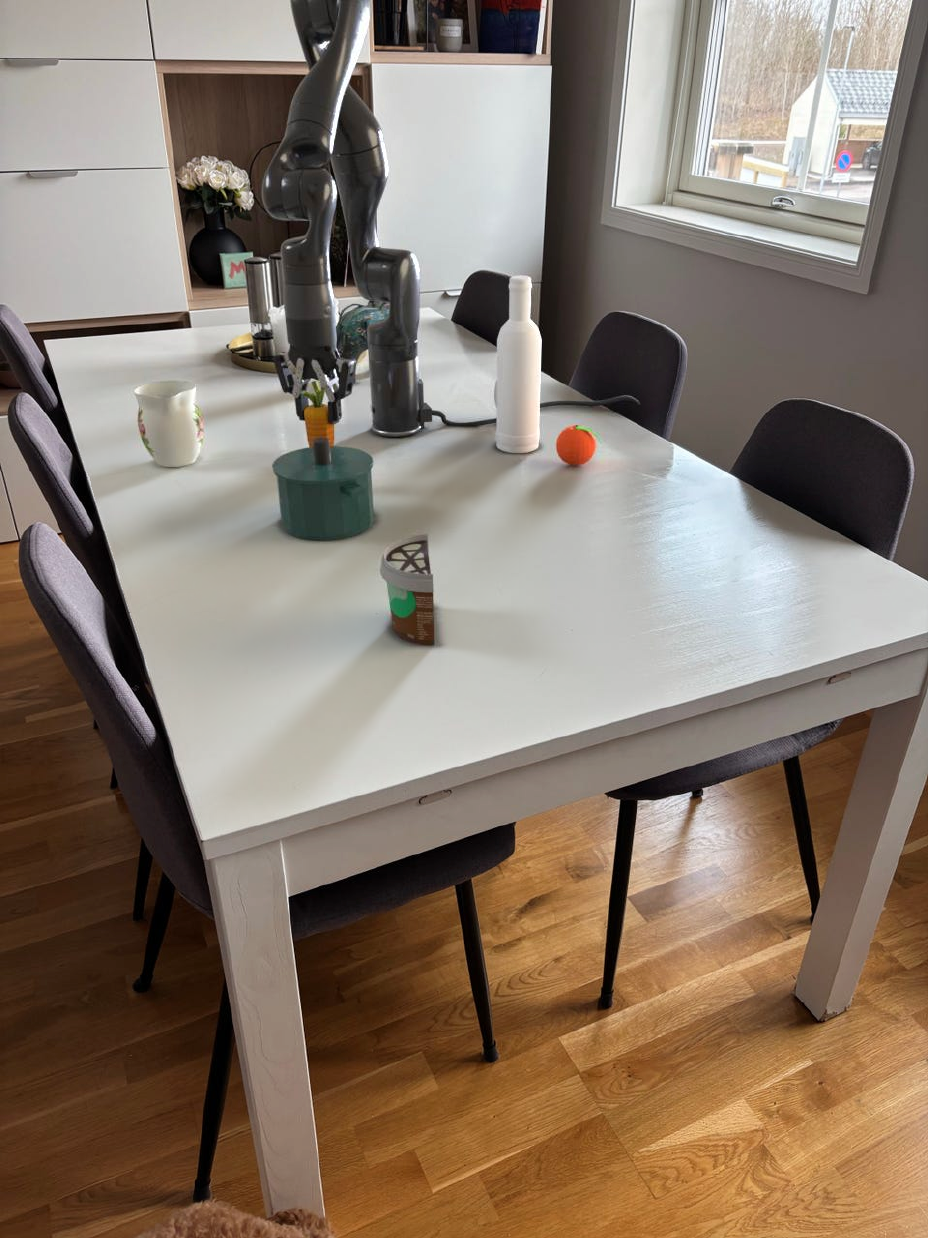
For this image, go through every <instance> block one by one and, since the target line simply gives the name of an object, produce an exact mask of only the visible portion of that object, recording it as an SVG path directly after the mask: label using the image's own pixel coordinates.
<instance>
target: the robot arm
mask: <svg viewBox="0 0 928 1238" xmlns="http://www.w3.org/2000/svg"><path fill="white" fill-rule="evenodd" d="M289 2H290V9H291V15H292V20H293V23H294V27H295V30H296V33H297V37H298V40H299V44H300V46H301V51H302V54H303V57H304V59H305V63H306V66H307V69H308V72H307V74H306V75H305V76H304V78H303V79H302V80H301V82H300V83H299V85H298V87H297V88H296V90H295V92H294V94H293V97H292V99H291V103H290V106H289V111H288V117H287V122H286V126H285V127H286V129H285V132H284V137H283V139H282V140H281V142H280V144H279V146H278V148H277V150H276V152H275V153H274V155H273V157H272V159H271V160H270V163H269V165H268V167H267V169H266V170H265V173H264V175H263V180H262V184H261V199H262V203H263V206H264V209H265V211H266V212H267V213H268V214H269V215H270V216H271V218H273V219H276V220H279V221H304V222H306V221H307V222H308V221H309V226H308V230H307V232H306V234H305V235H300V236H296V237H292V238H288V239H286V240H284V241H283V242H282V243H281V247H280V259H281V267H282V268H281V269H282V279H283V281H282V282H283V309H284V319H285V327H286V328H285V329H286V338H287V343H288V345H289V348H288V351H281V352H279V353H277V354H275V355H273V356H272V361H273V365H274V367H275V371H276V374H277V378H278V381H279V383H280V386H281V390H282V391H283V393H285V394H287V393H289V394H290V395H292V396H293V399H294V405H295V414H296V416H297V417H298V420H299V421H302V422H305V417H304V409H305V408H306V407H307V406H310V403H309V402H310V401H309V398H308V397H307V396H304V395H302V392H303V391H306V392H308V387H309V383H310V381H311V380H314V381H317V382H319V386H320V388H321V387H322V388H323V389H324V390H325V392H324V393H325V395H326V397H327V405H328V414H329V423H330V424H334V425H336V424H339V422H340V420H342V417H343V411H342V400H343V399H345V398H347V397H349V396H351V395H352V393H353V387H354V384H353V381H354V375H355V376H356V372H355V368H356V369H357V364H356V360H355V359H350V360H347V359H345V358H342V357H340V355H339V353H338V351H337V348H336V343H337V333H336V325H337V321H336V320H337V319H336V308H335V296H334V290H333V286H332V281H331V279H332V277H331V276H332V275H331V264H330V245H331V235H332V228H333V222H334V217H335V213H336V208H337V201H338V194H339V199H340V203H341V207H342V212H343V217H344V222H345V227H346V234H347V240H348V248H349V256H350V263H351V269H352V275H353V280H354V283H355V287H356V289H357V291H358V293H359V295H360V296H361V297H362V298H363V299H365V300H367V301H369V300H370V301H376V302H385V303H390V306H389V315H388V317H387V318H385V319H382V320H379V321H376V322H373V323H371V324H370V325H369V326H368V329H367V336H368V350H367V351H368V353H367V354H368V369H369V384H370V402H371V403H370V405H369V406H370V412H371V416H372V417H371V418H372V420H371V422H372V424H371V426H372V427H371V428H372V429H371V430H372V432H373V433H374V434H375V435H378V436H380V437H381V436H382V437H388V438H402V437H408V436H413V435H415V434H418V433H419V432H420V431H421V430H424V429H425V423H431V422H433V416H436V417H439V418H440V420H441V422H442V423H443V424H444V425H446V426H448V427H464V428H465V427H466V428H469V427H470V428H473V427H481V426H487V425H493V424H497V417H495V418H488V419H481V420H475V421H468V422H467V421H466V422H457V421H451V420H449V419H447V417H446V414H445V413H444V412H442V411H439V410H433V408H432V407H431V406H430V405H429V404H428V403H427V402H425V395H424V393H425V392H424V381H423V380H422V379H421V378H420V377H419V376H420V375H419V372H420V371H419V349H418V332H419V331H418V330H419V325H420V315H421V304H420V303H421V302H420V301H421V269H420V264H419V261H418V259H417V256H416V255H415V254H414V253H413V252H412V251H410V250H409V249H400V248H391V247H390V248H389V247H381V245H380V243H379V239H378V233H377V226H376V218H377V217H376V216H377V212H378V208H379V205H380V202H381V200H382V198H383V194H384V192H385V188H386V186H387V181H388V177H389V170H390V168H389V161H388V155H387V149H386V145H385V139H384V134H383V130H382V128H381V125H380V123H379V121H378V119H377V118H376V116H375V115H374V113H373V112H372V110H371V109H370V108H369V107H368V105H367V104H366V103H365V102H364V101H363V99H362V98H361V97H360V95H359V94H358V93H357V92H356V91H355V89H353V87H352V86H351V84H350V80H351V78H352V75H353V73H354V71H355V67H356V65H357V62H358V59H359V56H360V53H361V51H362V48H363V45H364V42H365V39H366V36H367V33H368V29H369V25H370V20H371V10H372V9H371V8H372V7H371V0H289ZM329 161H330V162H331V167H332V171H333V175H334V177H333V176H332V174H331V172H329V170H327V169H326V168H324V167H322V166H324V165H326V164H327V163H328V162H329ZM334 178H335V179H334ZM292 365H293V367H294V368H295V373H294V371H293V369H292ZM337 365H338V366H339V372H341V375H340V381H339V384H338V377H337V375H336V371H335V367H336V366H337ZM624 401H628V402H630V403H633V404H634V405H636V406H640V405H641V402H640V401H639V400H638V399H637V398H635V397H633V396H631V395H619V396H614V397H612V398H608V399H603V400H569V399H568V400H567V399H566V400H564V399H563V400H552V401H545V402H540V409H542V408H548V407H556V406H558V407H559V406H577V407H578V406H579V407H601V406H606V405H611V404H614V403H618V402H624Z"/></svg>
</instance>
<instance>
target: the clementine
mask: <svg viewBox="0 0 928 1238" xmlns="http://www.w3.org/2000/svg"><path fill="white" fill-rule="evenodd" d="M595 436H596V438H597V439H598V442H599V443H600V444H602V442H601V439H600V437H599V435H598V434H597V433H596V432H595V431H594V430H593V429H591V428H589V427H587V426H583V425H580V424H579V425H578V424H574V425H569V426H568V427H565V428H564V429H563V430H562V431H560V433H559V434H558V437H557V438H556V443H555V448H556V454H557V456H558V457H559V459H560V460H561V461H562V462H563V463H565V464H567V465H570V466H575V467H577V466H582V465H584V464H586V463H588V462H589V461H590V460H591V459H592V458H593V456H594V454H595V452H596V447H597V444H596V443H597V442H596V438H595Z"/></svg>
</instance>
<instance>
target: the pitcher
mask: <svg viewBox="0 0 928 1238" xmlns="http://www.w3.org/2000/svg"><path fill="white" fill-rule="evenodd" d="M196 389H197V387H196V384H195V383H193V382H189V381H186V380H160V381H154V382H150V383H149V382H148V383H145V384H142V385H140V386H138V387H136V388H135V389H134V390H133V393H134V396H135V398H136V401H137V404H138V410H137V427H138V432H139V435H140V438H141V440H142V443H143V445H144V447H145V449H146V451H147V452H148V454H149V456H150V457H151V458H152V459H153V460H154V461H155V462H156V463H157V464H158V465H159V466H160V467H164V468H181V467H184V466H189V465H191V464H193V463H194V462H195V461H196V460H197V458H198V456H199V455H200V452H201V450H202V446H203V441H204V422H203V421H204V420H203V415H202V411H201V410H200V407H199V405H198V403H197V401H196Z"/></svg>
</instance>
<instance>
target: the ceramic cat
mask: <svg viewBox="0 0 928 1238" xmlns="http://www.w3.org/2000/svg"><path fill="white" fill-rule="evenodd" d="M355 306H356V307H355ZM389 306H390V303H385V302H376V301H370V300H368V302H367V304H366V305H364V304H359V303H351V304H349V305H347V306H345V307H344V308H343V309H342V310H341V311H340V314H339V316H338V321H337V322H336V333H337V343H336V348H337V351H338V353H339V355H340V357H342V358H345V359H347V360H350V359H355V360H356V365H357V364H358V362H359V359H360V357H361V356H362V354H363V353H364V352H366V351H368V336H367V329H368V326H369V325H370V324H371V323H373V322H376V321H379V320H382V319H385V318H387V317H388V315H389ZM351 307H353V308H352V309H351V310H348V309H349V308H351ZM347 310H348V311H347ZM345 311H347V312H345ZM356 371H357V367H356V368H355V373H356ZM335 372H336V375H337V377H338V385H339V381H340V375H341V372H339V366H338V365H337V366H336V367H335ZM355 383H356V374H355V375H354V381H353V385H354V384H355Z"/></svg>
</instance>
